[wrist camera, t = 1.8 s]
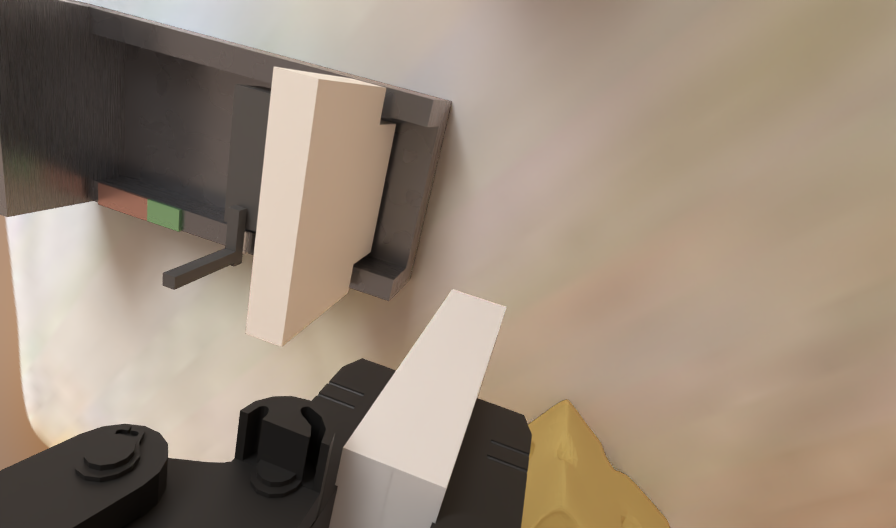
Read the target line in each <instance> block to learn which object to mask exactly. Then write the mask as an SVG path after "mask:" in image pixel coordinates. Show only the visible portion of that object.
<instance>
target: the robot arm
mask: <svg viewBox="0 0 896 528" xmlns="http://www.w3.org/2000/svg"><path fill="white" fill-rule="evenodd" d="M506 308H507V307H506V306H503V305H500V304H496V303H493V302H490V301H487V300H484V299H481V298H478V297H475V296H472V295H469V294H466V293H463V292H460V291H457V290H454V289H452V290H451V292H450V293H449V295H448V296H447V297H446V299H445V300H444V302H443V303H442V305H441V306H440V308H439V309H438V310H437V312H436V313H435V315H434V316H433V318H432V319H431V321H430V322H429V324H428V325H427V326H426V328H425V329H424V331H423V332H422V334H421V335H420V337H419V338H418V340H417V341H416V342H415V344H414V345H413V347H412V348H411V350H410V351H409V353H408V354H407V356H406V357H405V358H404V360H403V361H402V363H401V364H400V366H399V367H398V369H397V370H393V369H390V368H387V367H385V366H382V365H379V364H376V363H374V362H371V361H368V360H365V359H363V358H362V359H360V360H357V361H355V362H353V363H350V364H348V365H346V366H344V367H342V368H341V369H340V370H339V371H338V372H337V374H336V375H335V376H334V377H333V378H332V379H331V380H330V382H329V384H326V386H325V387H324V388H323V389H322V390H321V391H320V392H319V394H318V396H315V398H314V399H313V400H312V401H310V400H306V399H301V398H297V397H293V396H278V397H270V398H266V399H262V400H258V401H255V402H253V403H252V404H250V405H248V406H247V407H245V408H243V409H242V410H240V417H239V425H238V434H237V442H236V451H235V458H234V459H233V460H232V461H231V462H225V463H214V462H200V461H191V460H182V459H172V458H168V443H167V442H166V441H165V439H164V438H163V437H162V435H161V434H160V433H159V432H156V431H154V430H152V429H150V428H148V427H146V426H139V425H131V424H120V425H111V426H103V427H100V428H97V429H94V430H91V431H88V432H85V433H82V434H79V435H77V436H75V437H73V438H71V439H68V440H66V441H64V442H62V443H60V444H58V445H55V446H53V447H51V448H49V449H47V450H45V451H42V452H40V453H38V454H36V455H33V456H31V457H29V458H27V459H25V460H23V461H20V462H18V463H16V464H14V465H12V466H10V467H7V468H5V469H3V470H1V471H0V528H521V524H522V516H523V507H524V499H525V490H526V482H527V471H528V465H529V455H530V448H531V440H532V433H531V431H530V429H529V426H528V424H527V421H526V419H525V417H524V415H522V414H519V413H516V412H514V411H511V410H508V409H505V408H503V407H500V406H497V405H494V404H492V403H489V402H486V401H483V400H481V399H478V395H479V392H480V389H481V386H482V383H483V379H484V376H485V373H486V370H487V367H488V364H489V361H490V358H491V355H492V351H493V348H494V345H495V342H496V339H497V336H498V333H499V330H500V326H501V323H502V320H503V317H504V314H505V311H506Z"/></svg>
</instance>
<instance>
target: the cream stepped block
mask: <svg viewBox="0 0 896 528" xmlns="http://www.w3.org/2000/svg"><path fill="white" fill-rule="evenodd" d="M385 93H386V88H385V87H382V86H378V85H374V84H371V83H367V82H363V81H360V80H356V79H352V78H345V77H339V76H332V75H326V74H319V73H313V72H306V71H300V70H293V69H286V68H280V67H274V68H273V77H272V87H271V96H270V105H269V115H268V124H267V134H266V143H265V153H264V162H263V172H262V181H261V190H260V200H259V209H258V219H257V228H256V238H255V247H254V257H253V266H252V275H251V285H250V294H249V304H248V313H247V323H246V332H245V334H248V335H250V336H253V337H256V338H259V339H261V340H264V341H267V342H269V343H272V344H275V345H278V346H280V347H282V346H283V345H285V344H286V343H287V342H288V341H290V340H291V339H292V338H293V337H295V336H296V335H297V334H298V333H299V332H301V331H302V330H303V329H304V328H306V327H307V326H308V325H309V324H311V323H312V322H313V321H314V320H315V319H317V318H318V317H319V316H320V315H322V314H323V313H324V312H325V311H327V310H328V309H329V308H330V307H331V306H333V305H334V304H335V303H336V302H338V301H339V300H340V299H341V298H343V297H344V296H345V295H346V294H347V293H348V291H349V285H350V280H351V275H352V269H353V264H354V263H356V262H357V261H359V260H360V259H362V258H363V257H364V256H366V255H367V254H369V253H370V252H371V248H372V243H373V238H374V233H375V228H376V223H377V218H378V213H379V208H380V203H381V198H382V193H383V188H384V183H385V178H386V173H387V168H388V163H389V158H390V153H391V148H392V142H393V137H394V132H395V127H396V124H395V123H391V122H387V121H384V120H380V119H381V114H382V109H383V103H384V98H385Z"/></svg>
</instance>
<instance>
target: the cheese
mask: <svg viewBox="0 0 896 528" xmlns="http://www.w3.org/2000/svg"><path fill="white" fill-rule="evenodd" d="M528 426H529V429H530V431H531V433H532V440H531V448H530V455H529V465H528V471H527V482H526V490H525V499H524V507H523V516H522V524H521V528H670V526H669V523H668V521H667V520H666V518H665V517H664V516H663V515H662V514H661V512H660V511H659V510H658V509H657V508H656V507H655V505H654V504H653V503H652V502H651V501H650V500H649V499H648V497H647V496H646V495H645V494H644V493H643V492H642V491H641V490H640V488H639V487H638V486H637V485H636V484H635V483H634V482H633V481H632V480H631V479H630V478H629V477H628V476H627V475H625V474H623V473H621V472H620V471H615V470H614V468H613V467H612V466H611V464H610V463H609V461H608V459H607V458H606V456H605V453H604V450H603V447H602V444H601V442H600V441H599V440H598V438H597V437H596V436H595V434H594V433H593V432H592V430H591V429H590V428H589V427H588V425H587V424H586V423H585V421H584V420H583V418H582V417H581V416H580V414H579V413H578V411H577V410H576V409H575V408H574V406H573V405H572V404H571V402H570V401H569V400H567V399H566V400H564V401H561V402H559V403H558V404H556V405H554V406H553V407H552V408H550V409H549V410H547V411H546V412H545V413H544V414H542V415H541V416H539V417H538V418H537V419H535V420H534V421H532V422H531V423H530V424H528Z"/></svg>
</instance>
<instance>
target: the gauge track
mask: <svg viewBox="0 0 896 528" xmlns="http://www.w3.org/2000/svg"><path fill="white" fill-rule="evenodd" d="M274 67H280V68H286V69H293V70H300V71H306V72H313V73H319V74H326V75H332V76H339V77H345V78H352V79H356V80H360V81H363V82H367V83H371V84H374V85H378V86H382V87H385V88H386V93H385V98H384V103H383V109H382V114H381V119H380V120H384V121H387V122H391V123H395V124H396V127H395V132H394V137H393V142H392V148H391V153H390V158H389V163H388V168H387V173H386V178H385V183H384V188H383V193H382V198H381V203H380V208H379V213H378V218H377V223H376V228H375V233H374V238H373V243H372V248H371V252H370V253H369V254H367V255H366V256H364V257H363V258H362V259H360V260H359V261H357V262H356V263H354V264H353V269H352V275H351V280H350V285H349V288H352V289H355V290H358V291H361V292H364V293H367V294H370V295H372V296H375V297H378V298H381V299H384V300H387V301H389V300H390V299H391V298H392V297H393V296H394V295H395V294H396V293H397V292H398V291H399V290H400V289H401V288H402V287H403V286H404V285H405V284H406V283H407V282H408V281H409V280H410V278H411V273H412V269H413V265H414V261H415V256H416V252H417V248H418V244H419V239H420V235H421V231H422V227H423V222H424V218H425V214H426V210H427V205H428V201H429V197H430V193H431V188H432V184H433V180H434V176H435V171H436V167H437V163H438V159H439V154H440V150H441V146H442V142H443V137H444V133H445V129H446V125H447V120H448V116H449V112H450V108H451V103H452V101H448V100H445V99H441V98H437V97H434V96H430V95H426V94H422V93H419V92H415V91H411V90H408V89H404V88H400V87H396V86H393V85H389V84H385V83H382V82H378V81H374V80H370V79H367V78H363V77H359V76H356V75H352V74H348V73H344V72H341V71H337V70H333V69H330V68H326V67H322V66H318V65H315V64H311V63H307V62H304V61H300V60H296V59H292V58H289V57H285V56H281V55H278V54H274V53H270V52H266V51H263V50H259V49H255V48H252V47H248V46H244V45H240V44H237V43H233V42H229V41H225V40H222V39H218V38H214V37H211V36H207V35H203V34H199V33H196V32H192V31H188V30H185V29H181V28H177V27H173V26H170V25H166V24H162V23H159V22H155V21H151V20H147V19H144V18H140V17H136V16H133V15H129V14H125V13H121V12H118V11H114V10H110V9H107V8H103V7H99V6H95V5H92V4H88V3H83V2H79V1H75V0H0V215H3V216H6V217H10V216H16V215H21V214H26V213H32V212H37V211H42V210H48V209H53V208H58V207H64V206H69V205H75V204H80V203H85V202H91V201H96V202H98V204H99V205H102V206H105V207H108V208H111V209H114V210H116V211H119V212H122V213H125V214H128V215H131V216H134V217H137V218H140V219H143V220H146V221H149V222H152V223H155V224H158V225H160V226H163V227H166V228H169V229H172V230H175V231H178V232H179V231H184V232H187V233H190V234H193V235H196V236H199V237H202V238H205V239H208V240H211V241H214V242H217V243H220V244H223V245H225V244H226V232H227V222H225V221H224V214H225V202H226V189H227V177H228V164H229V152H230V139H231V127H232V114H233V102H234V89H235V84H239V85H251V86H263V87H267V88H270V89H271V87H272V77H273V68H274ZM255 238H256V232H255V231H252V230H249V229H246V228H245V234H244V244H243V254H248V253H249V254H252V255H254V247H255Z"/></svg>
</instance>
